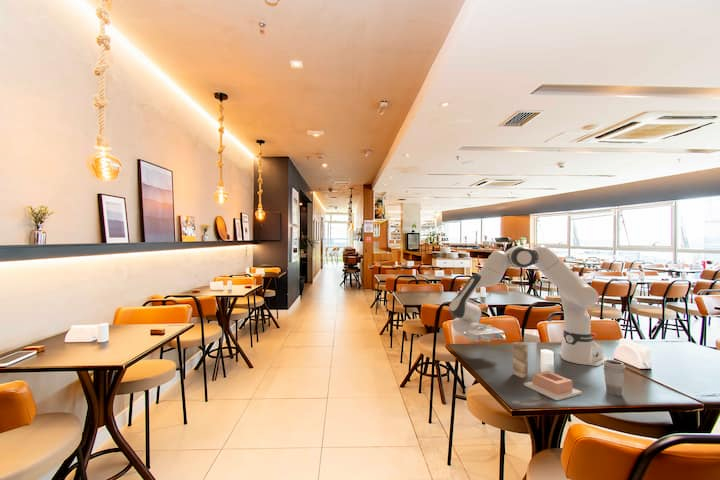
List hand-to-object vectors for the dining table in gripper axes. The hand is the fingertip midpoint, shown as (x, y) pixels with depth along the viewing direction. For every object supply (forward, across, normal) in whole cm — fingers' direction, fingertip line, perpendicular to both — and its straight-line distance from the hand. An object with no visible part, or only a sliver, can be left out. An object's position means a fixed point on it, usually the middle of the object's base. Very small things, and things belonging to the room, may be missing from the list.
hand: (497, 339), depth 154 cm
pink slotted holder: (+28, +1, +12) cm, 30 cm away
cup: (+39, +21, +12) cm, 46 cm away
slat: (+13, 0, +12) cm, 18 cm away
